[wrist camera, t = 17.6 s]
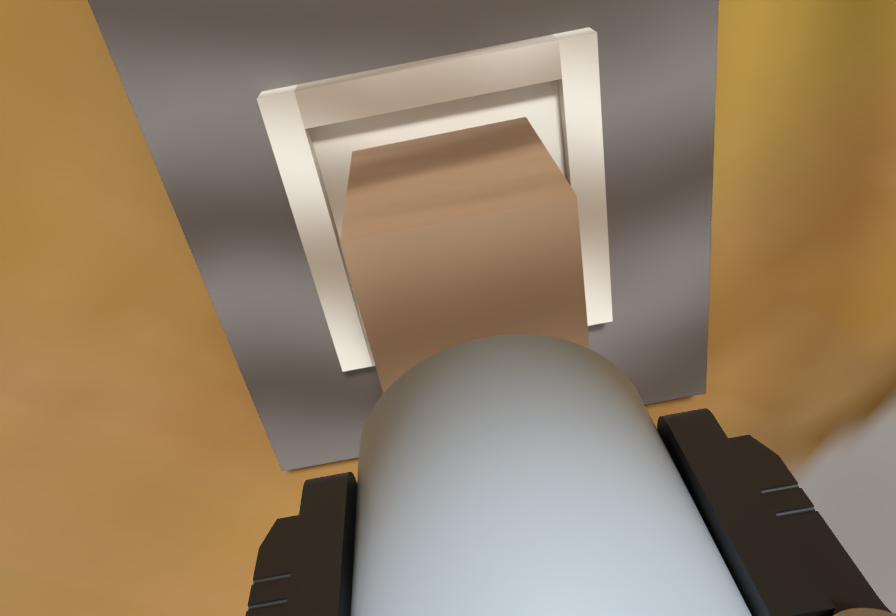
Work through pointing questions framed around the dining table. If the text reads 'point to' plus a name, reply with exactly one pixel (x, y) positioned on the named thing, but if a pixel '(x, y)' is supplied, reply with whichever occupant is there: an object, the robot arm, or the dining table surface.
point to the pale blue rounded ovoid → (526, 494)
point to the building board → (410, 117)
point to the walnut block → (462, 243)
